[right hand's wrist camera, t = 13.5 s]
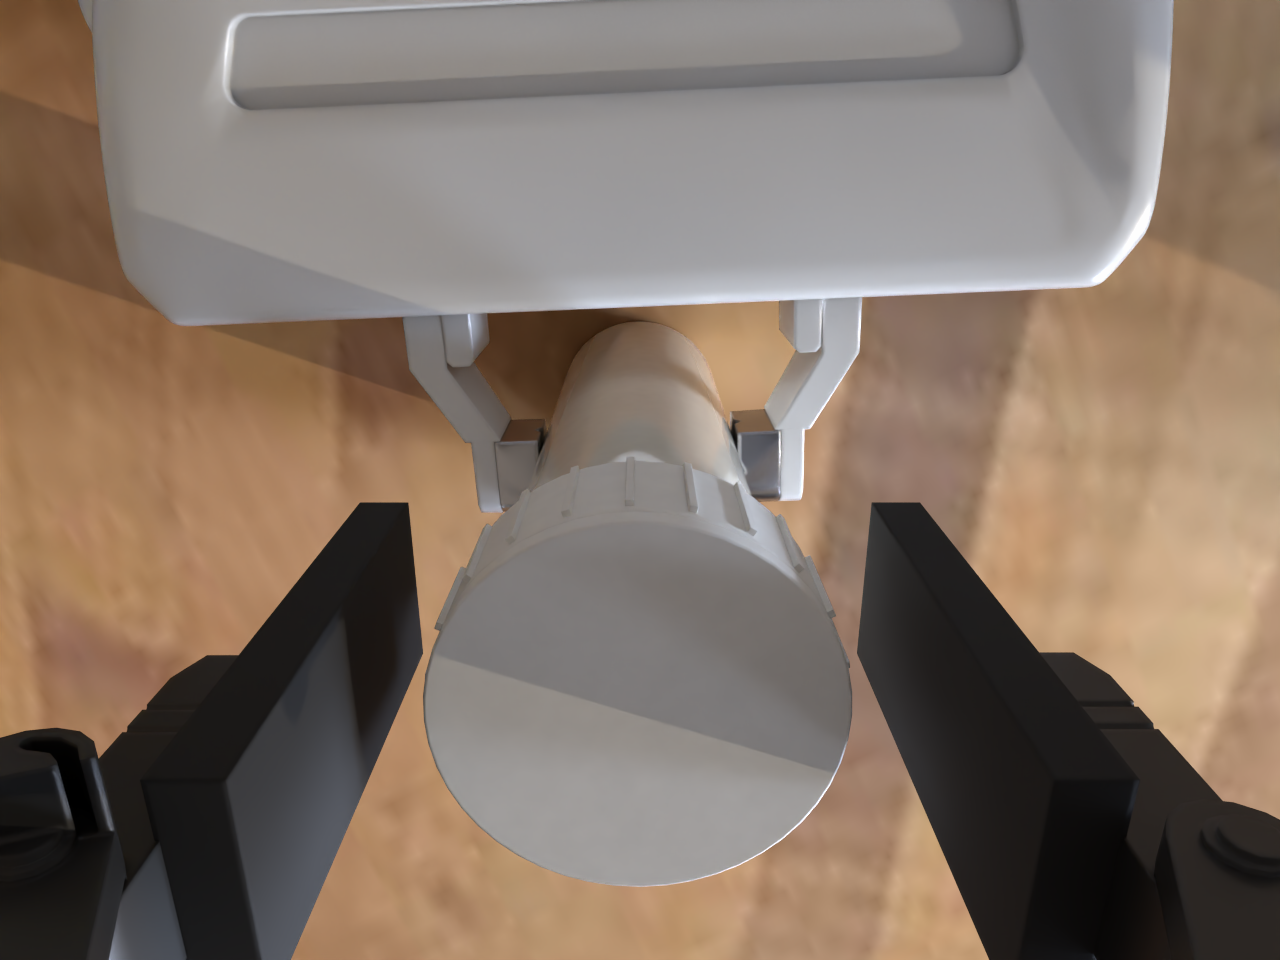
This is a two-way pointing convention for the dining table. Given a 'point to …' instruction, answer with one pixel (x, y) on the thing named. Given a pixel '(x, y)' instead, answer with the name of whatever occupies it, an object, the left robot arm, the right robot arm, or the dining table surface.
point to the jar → (639, 407)
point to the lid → (637, 677)
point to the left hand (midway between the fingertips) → (642, 498)
